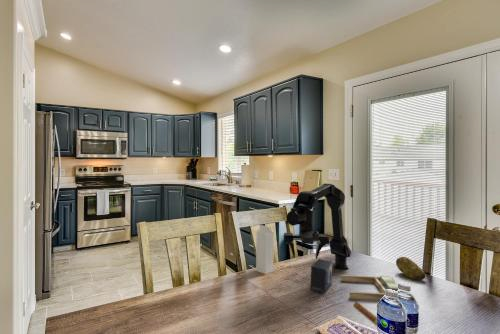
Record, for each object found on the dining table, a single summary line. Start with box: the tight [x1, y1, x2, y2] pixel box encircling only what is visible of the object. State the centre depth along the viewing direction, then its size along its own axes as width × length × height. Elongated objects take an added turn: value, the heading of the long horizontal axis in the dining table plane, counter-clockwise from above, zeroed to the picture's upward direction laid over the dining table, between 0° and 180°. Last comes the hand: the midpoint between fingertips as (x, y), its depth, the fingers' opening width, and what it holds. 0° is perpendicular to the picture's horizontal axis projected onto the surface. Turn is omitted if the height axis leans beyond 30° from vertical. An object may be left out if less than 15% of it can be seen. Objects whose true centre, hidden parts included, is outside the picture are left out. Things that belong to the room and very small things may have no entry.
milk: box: [255, 224, 275, 275], centre depth 141 cm, size 6×6×22 cm
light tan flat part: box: [340, 274, 399, 301], centre depth 122 cm, size 17×22×4 cm
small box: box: [309, 258, 333, 295], centre depth 124 cm, size 11×6×10 cm, turn 149°
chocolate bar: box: [353, 300, 378, 324], centre depth 104 cm, size 3×12×2 cm, turn 16°
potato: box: [395, 256, 426, 281], centre depth 137 cm, size 8×13×8 cm, turn 8°
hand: (305, 258), depth 124 cm, fingers open, 9 cm apart
